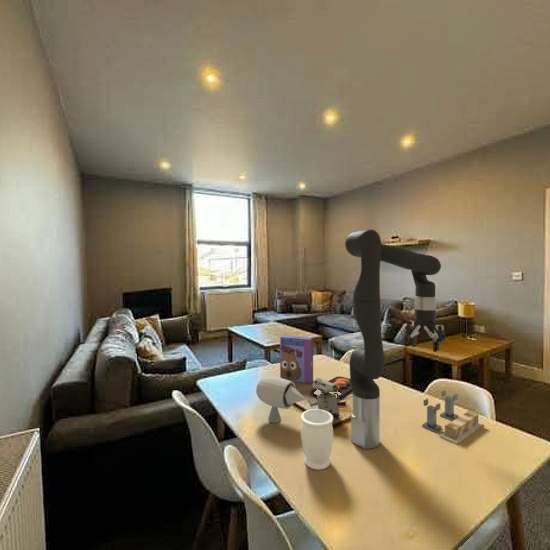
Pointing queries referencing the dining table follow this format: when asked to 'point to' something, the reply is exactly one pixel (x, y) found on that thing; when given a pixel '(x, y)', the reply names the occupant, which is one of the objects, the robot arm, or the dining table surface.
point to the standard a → (431, 417)
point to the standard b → (449, 407)
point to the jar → (317, 437)
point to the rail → (461, 425)
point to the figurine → (326, 396)
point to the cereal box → (296, 359)
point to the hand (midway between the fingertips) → (424, 349)
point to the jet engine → (277, 395)
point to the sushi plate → (340, 385)
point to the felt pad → (462, 434)
